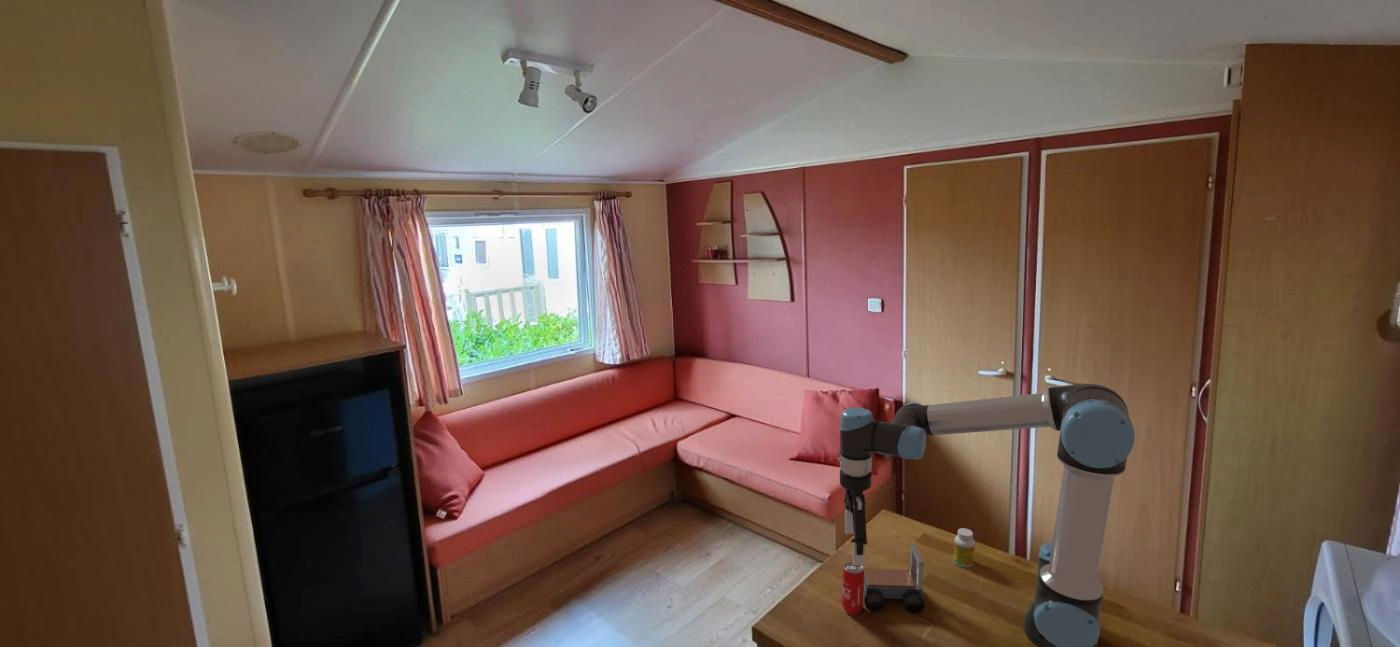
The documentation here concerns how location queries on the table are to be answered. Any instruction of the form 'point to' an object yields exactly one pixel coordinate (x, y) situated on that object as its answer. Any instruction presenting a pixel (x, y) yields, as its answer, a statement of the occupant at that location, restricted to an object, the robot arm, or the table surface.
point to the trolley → (896, 585)
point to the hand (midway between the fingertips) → (854, 548)
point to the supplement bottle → (964, 548)
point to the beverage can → (853, 588)
